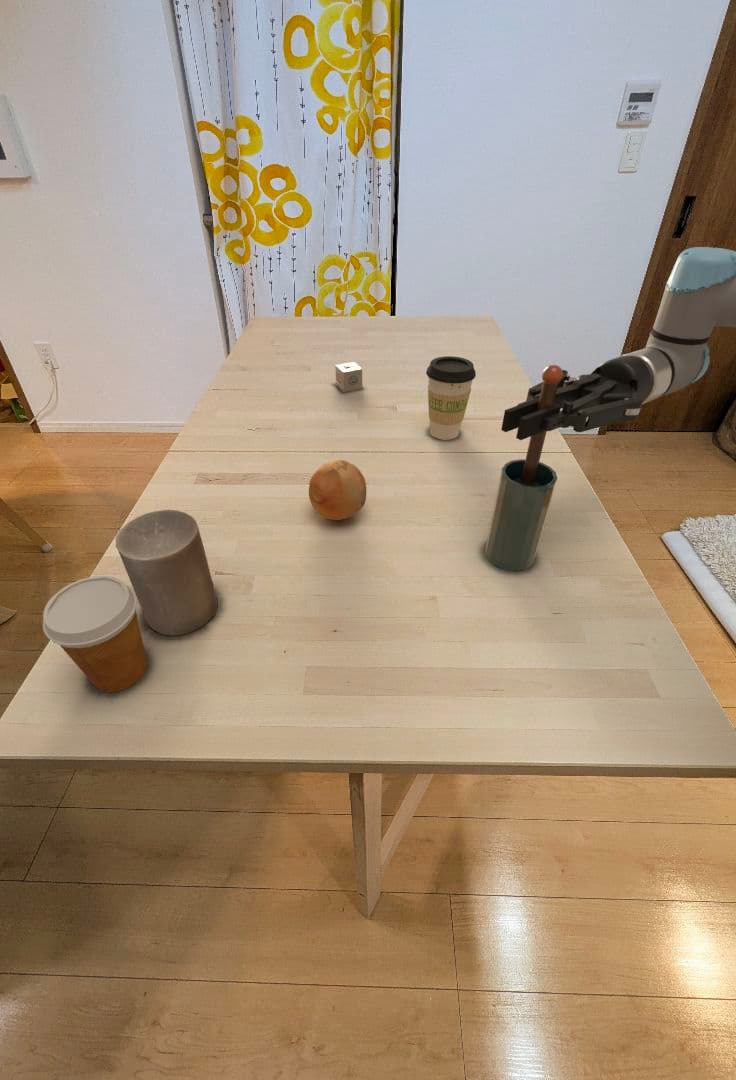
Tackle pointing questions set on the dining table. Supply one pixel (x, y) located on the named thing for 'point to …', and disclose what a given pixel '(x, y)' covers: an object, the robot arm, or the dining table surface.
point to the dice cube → (348, 376)
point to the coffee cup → (448, 394)
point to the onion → (337, 490)
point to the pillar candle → (168, 571)
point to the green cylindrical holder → (519, 516)
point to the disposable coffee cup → (98, 630)
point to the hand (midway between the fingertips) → (513, 425)
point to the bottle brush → (547, 397)
